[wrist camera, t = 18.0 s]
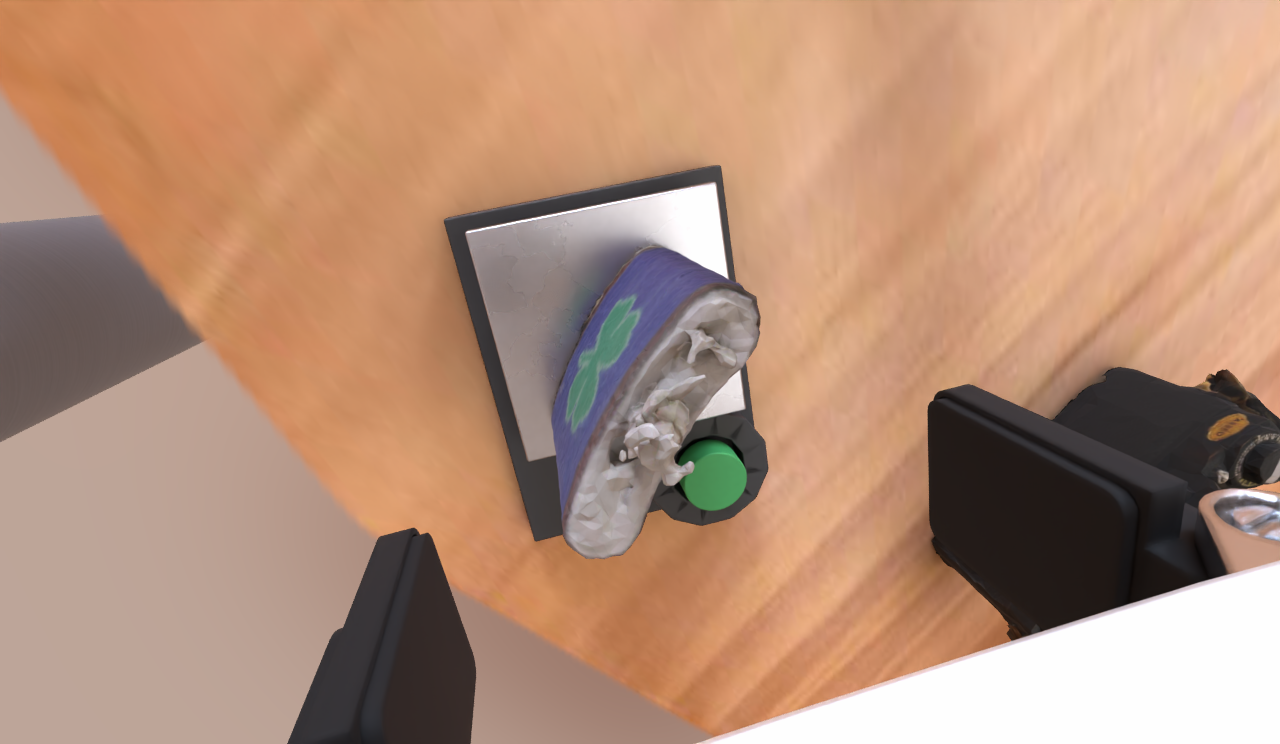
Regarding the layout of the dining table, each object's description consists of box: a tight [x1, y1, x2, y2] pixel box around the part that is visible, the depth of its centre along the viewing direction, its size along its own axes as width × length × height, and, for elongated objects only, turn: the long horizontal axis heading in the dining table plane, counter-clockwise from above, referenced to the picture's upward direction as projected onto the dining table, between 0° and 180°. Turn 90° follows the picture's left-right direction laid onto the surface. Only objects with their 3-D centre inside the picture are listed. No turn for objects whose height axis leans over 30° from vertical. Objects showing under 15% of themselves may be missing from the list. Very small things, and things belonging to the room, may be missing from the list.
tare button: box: [678, 440, 747, 511], centre depth 28 cm, size 3×3×2 cm
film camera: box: [932, 367, 1280, 641], centre depth 32 cm, size 18×12×10 cm
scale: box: [444, 165, 768, 541], centre depth 28 cm, size 12×16×3 cm
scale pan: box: [465, 182, 746, 462], centre depth 25 cm, size 10×10×1 cm
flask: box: [551, 246, 760, 559], centre depth 20 cm, size 9×3×11 cm, turn 151°
